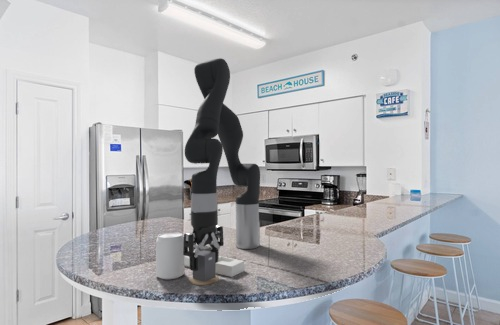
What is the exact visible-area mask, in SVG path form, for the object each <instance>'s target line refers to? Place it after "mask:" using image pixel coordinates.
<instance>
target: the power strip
mask: <svg viewBox="0 0 500 325" xmlns="http://www.w3.org/2000/svg"><path fill="white" fill-rule="evenodd" d="M211 249H212V248H211V247H210V245H209V246H207V245H206V246H203V248H202V250H200V251H203V250H205V251H211ZM200 251H199V252H200ZM194 252H195V250H194ZM184 267H188V268H190V258H189V256H184ZM244 271H245V260H241V259H236V258H230V257H226V256H221V255H219V258H218V262H217V263H215V272H216V275H217V274H219V275H222V276H226V277H231V278H232V277H235V276H237V275H238V274H241V273H243V272H244Z"/></svg>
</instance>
